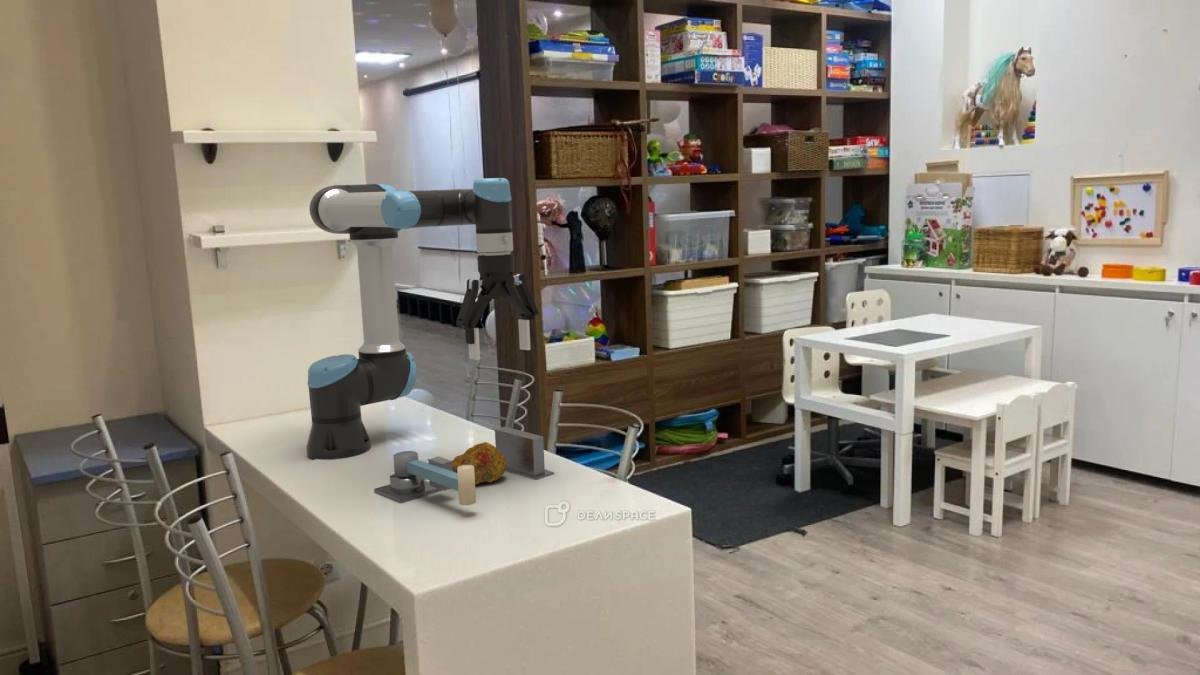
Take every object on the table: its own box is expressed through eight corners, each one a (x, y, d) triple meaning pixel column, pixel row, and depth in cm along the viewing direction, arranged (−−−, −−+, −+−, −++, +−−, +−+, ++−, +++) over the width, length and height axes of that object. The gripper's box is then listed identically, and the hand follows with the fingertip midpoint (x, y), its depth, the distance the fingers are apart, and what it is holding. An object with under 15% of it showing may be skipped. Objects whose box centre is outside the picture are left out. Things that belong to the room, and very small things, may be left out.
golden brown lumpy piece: (481, 504, 185) (445, 473, 183) (474, 502, 193) (440, 472, 191) (516, 463, 188) (481, 432, 186) (507, 462, 196) (474, 432, 194)
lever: (390, 480, 185) (388, 448, 184) (415, 473, 189) (413, 441, 188) (462, 508, 167) (459, 472, 166) (487, 499, 171) (485, 464, 170)
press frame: (374, 492, 185) (371, 450, 184) (494, 457, 207) (492, 420, 206) (431, 516, 170) (428, 471, 169) (554, 475, 192) (552, 435, 191)
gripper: (457, 258, 172) (463, 365, 176) (552, 249, 190) (556, 347, 193) (434, 257, 177) (441, 361, 181) (529, 249, 195) (533, 344, 198)
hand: (500, 354), depth 187 cm, fingers open, 13 cm apart
